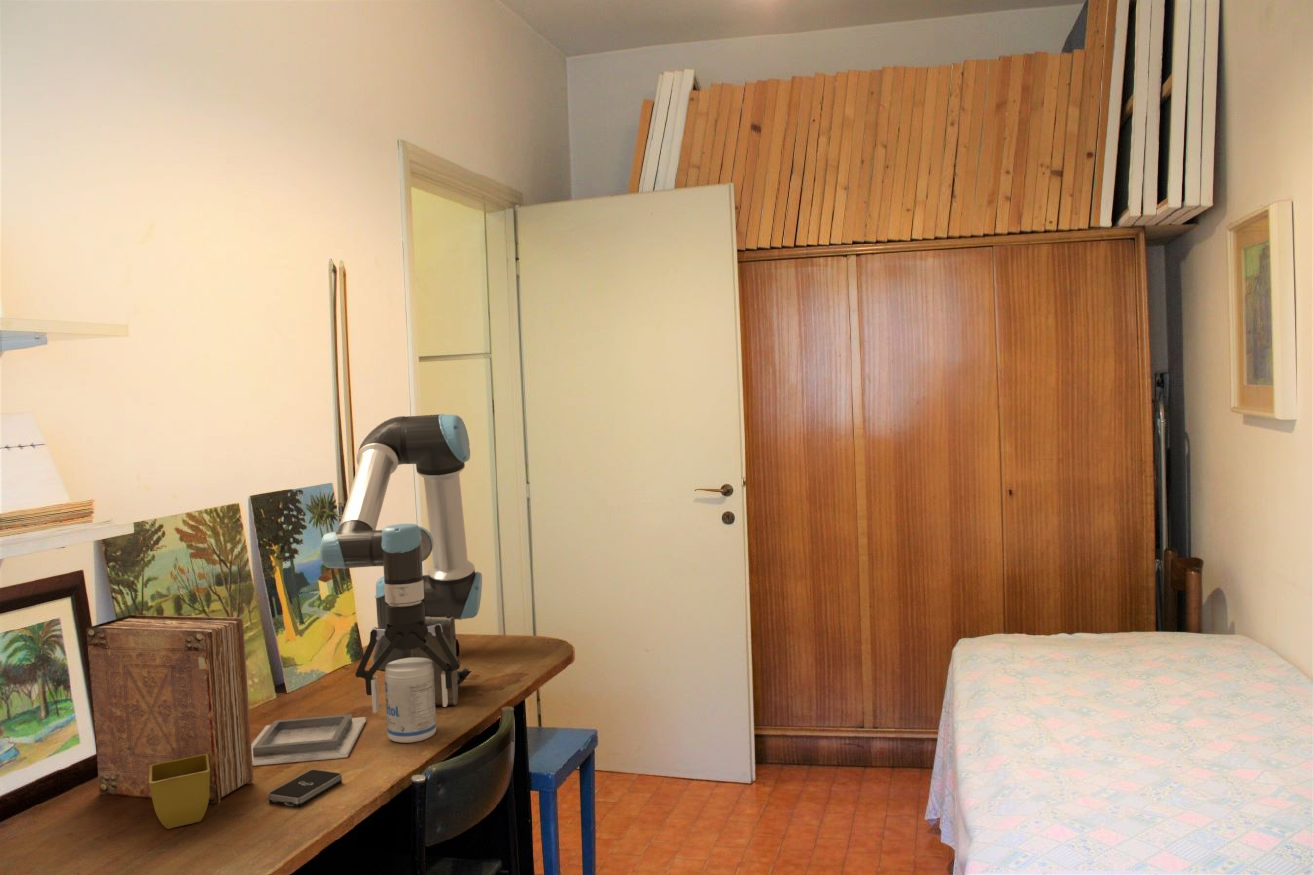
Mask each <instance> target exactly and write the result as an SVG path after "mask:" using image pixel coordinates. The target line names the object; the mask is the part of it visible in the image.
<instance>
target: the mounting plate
mask: <svg viewBox="0 0 1313 875" xmlns="http://www.w3.org/2000/svg"><path fill="white" fill-rule="evenodd" d="M366 720H367V719H366V716H362V717H353V715H352V714H351V713H348V714H337V715H326V716H314V717H313V716H312V717H302V718H301V717H300V718H289V719H277V720H276V719H275V720H274V721H273V722H272V723H271V724H267V725H265V726H264V728H263V729H262V730H261V731H260V732H259V734H258V735H257V737H256V738H255V739H254V740H253V741H252V742H251V748H252V763H253V767H256V766H267V765H278V764H280V765H281V764H289V763H300V762H310V761H311V762H312V761H322V760H323V761H325V760H333V759H345V758H349V755H350V754H351V752H352V749H353V748H354V746H355V744H356V741H357V740H358V737H359V736H360V734H361V733H362V729H363V728H364V727H365V726H364V725H365V724H366V722H367V721H366Z"/></svg>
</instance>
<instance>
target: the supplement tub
mask: <svg viewBox="0 0 1313 875" xmlns="http://www.w3.org/2000/svg"><path fill="white" fill-rule="evenodd" d="M384 671H385V672H384V690H385V711H386V712H385V713H386V729H387V731H386V732H387V737H388V739H390V740H391V741H393V742H395V743H401V744H404V743H405V744H407V743H410V744H411V743H417V742H421V741H424V740H427V739H429V738H431V737H432V736H434V735H435V733H436V731H437V717H436V716H437V715H436V714H437V713H436V711H437V709H436V706H435V686H434V668H433V662H432V660H430V659H427V658H404V659H399V660H395V661H392V662H390V663H388V664H387V665H386V666H385V670H384Z"/></svg>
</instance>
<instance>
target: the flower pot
mask: <svg viewBox="0 0 1313 875" xmlns="http://www.w3.org/2000/svg"><path fill="white" fill-rule="evenodd" d="M209 785H210V766H209V758H208V754H202V755H197V756H192V757H188V758H183V759H178V760H173V761H167V762H162V763H157V764H153V765H150V774H149V786H150V790H151V795H152V799H151V800H152V804H153V809H154V812H155V814H156V816H157V819H158V820H159V822H160V823H161V824H162V826H163V827H164V828H166V829H167V830H168V829H169V830H170V829H174V828H178V827H183V826H186V825H191V824H195V823H196V824H197V823H200V822H201V821H202V820H203V819H204V817H205V814H206V811H207V809H208V805H209V804H208V802H209Z"/></svg>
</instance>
